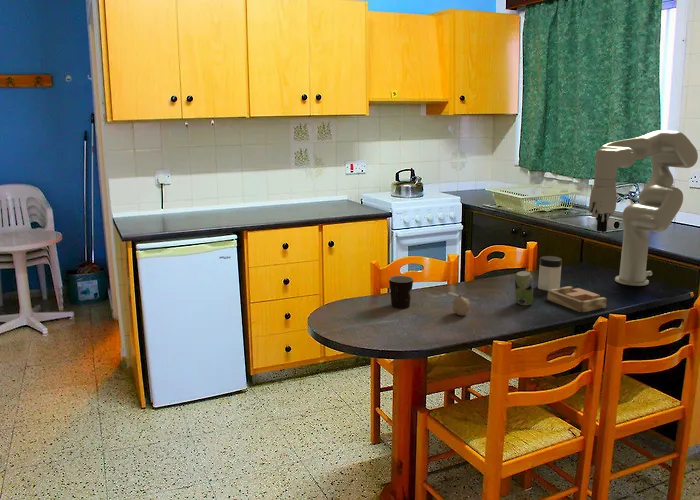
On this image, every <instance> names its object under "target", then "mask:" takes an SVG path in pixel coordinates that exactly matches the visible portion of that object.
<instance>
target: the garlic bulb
mask: <svg viewBox="0 0 700 500" xmlns="http://www.w3.org/2000/svg"><path fill="white" fill-rule="evenodd" d="M458 295H459V296H458V297H456V296H455V298H454V299H453V301H452V306H451V307H452V311H453V312H454V313H455V314H456V315H458V316H460V317H461V316H465V315H467V314H468V313H469V311H470V308H471V303H470V300H466V299H465V298H466V297H464V296H462V295H461V294H458ZM461 296H462V297H461ZM463 297H464V298H463Z"/></svg>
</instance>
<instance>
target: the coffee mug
mask: <svg viewBox="0 0 700 500" xmlns="http://www.w3.org/2000/svg"><path fill="white" fill-rule="evenodd" d="M388 283H389V293H390V304H391V307H392V308H393V309H397V310H398V309H399V310H402V309H403V310H404V309H408V308H409V307H410V304H411V299H412V298H411V297H412V292H413V284H414V278H413V277H411V276H407V275H394V276H390V277H389V278H388Z"/></svg>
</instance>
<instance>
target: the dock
mask: <svg viewBox="0 0 700 500" xmlns="http://www.w3.org/2000/svg"><path fill="white" fill-rule="evenodd" d="M572 289H574V286H571V285H569V286H563V287H560V288H556V289H550V290H548V291H547V298H546V299H547V300H546V301H550V302H551V303H555V304H557V305H560V306H563V307H566V308H568V309H570V310H571V309H572V310H573V311H576V312H579V313H586V312H591V311H595V310H602V309H606V308H607V299H608V298H607V297H605V296H602V297H601V296H600V298H596V299H590V300H585V301H581V300H578V299H575V298H572V297H569V296H566V295H565V294H567V293H571V290H572ZM601 308H602V309H601Z"/></svg>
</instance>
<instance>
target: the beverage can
mask: <svg viewBox="0 0 700 500" xmlns="http://www.w3.org/2000/svg"><path fill="white" fill-rule="evenodd" d="M514 280H515V281H514V282H515V283H514V284H515V301H516V303H517V304H519V305H521V306H529V305H531V304H533V302H534V285H533V283H534V282H533V275H532V274H531V272H530V271H528V270H520V271H518V272H516V275H515V276H514Z"/></svg>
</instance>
